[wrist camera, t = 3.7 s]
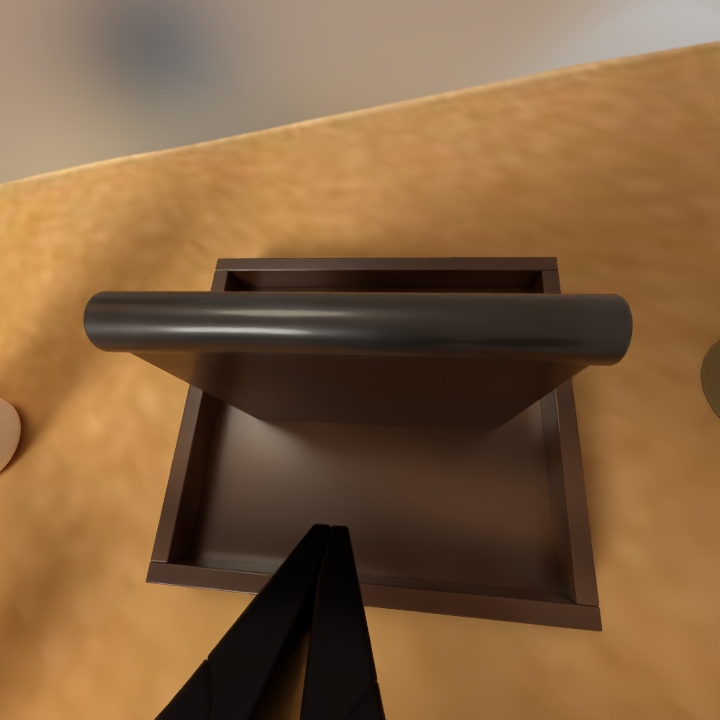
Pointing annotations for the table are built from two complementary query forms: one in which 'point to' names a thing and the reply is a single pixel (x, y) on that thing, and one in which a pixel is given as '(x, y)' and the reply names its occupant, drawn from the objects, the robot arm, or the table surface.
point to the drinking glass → (8, 432)
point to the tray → (380, 426)
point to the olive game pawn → (712, 377)
